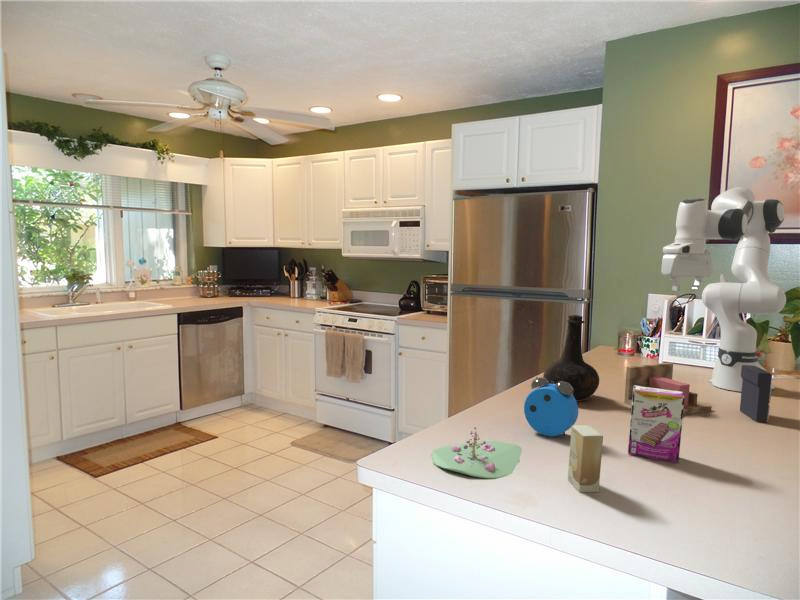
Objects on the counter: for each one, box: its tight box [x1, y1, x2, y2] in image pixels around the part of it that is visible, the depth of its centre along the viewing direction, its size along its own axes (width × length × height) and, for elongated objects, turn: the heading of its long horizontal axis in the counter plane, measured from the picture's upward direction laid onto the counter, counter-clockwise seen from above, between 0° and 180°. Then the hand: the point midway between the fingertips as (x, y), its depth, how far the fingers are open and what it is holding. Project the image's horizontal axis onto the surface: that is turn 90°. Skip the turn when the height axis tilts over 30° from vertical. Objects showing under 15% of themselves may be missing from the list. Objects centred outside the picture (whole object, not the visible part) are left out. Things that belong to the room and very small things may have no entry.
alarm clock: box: [523, 376, 579, 438], centre depth 137 cm, size 13×6×15 cm, turn 52°
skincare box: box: [567, 424, 604, 493], centre depth 107 cm, size 6×4×12 cm
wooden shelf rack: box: [623, 362, 713, 416], centre depth 164 cm, size 20×16×12 cm
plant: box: [430, 426, 523, 479], centre depth 121 cm, size 25×21×9 cm
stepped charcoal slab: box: [739, 365, 773, 424], centre depth 156 cm, size 11×4×15 cm, turn 168°
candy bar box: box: [627, 386, 685, 463], centre depth 124 cm, size 11×5×16 cm, turn 65°
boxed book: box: [649, 376, 691, 407], centre depth 165 cm, size 4×11×7 cm, turn 24°
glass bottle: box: [542, 314, 600, 402], centre depth 171 cm, size 18×18×28 cm
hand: (685, 290), depth 169 cm, fingers open, 8 cm apart
